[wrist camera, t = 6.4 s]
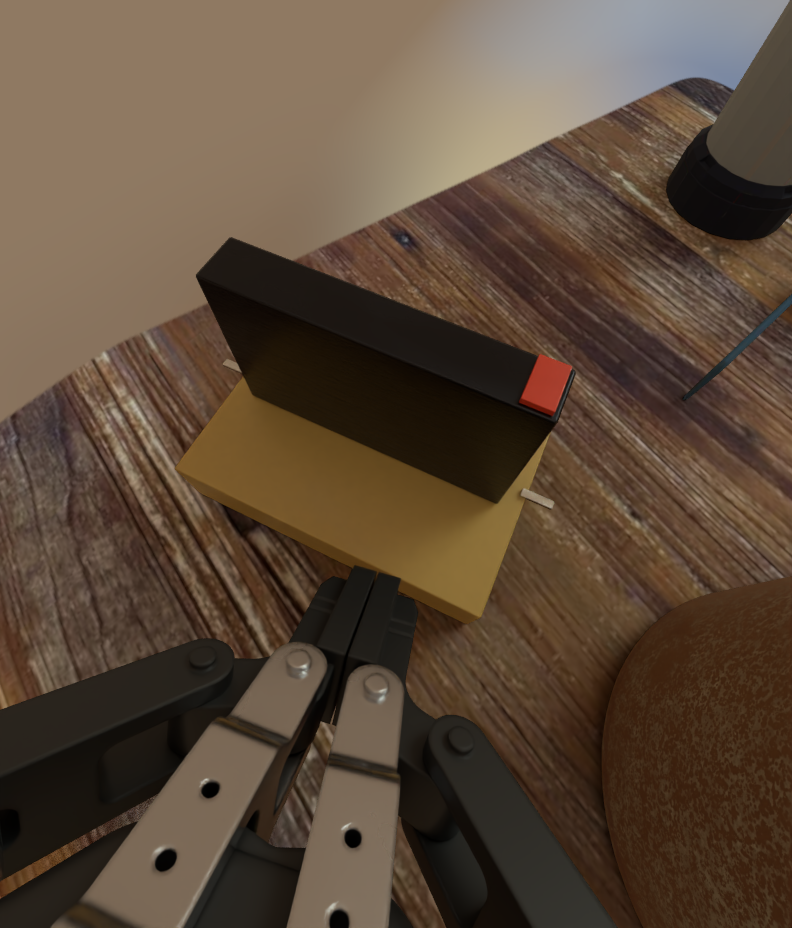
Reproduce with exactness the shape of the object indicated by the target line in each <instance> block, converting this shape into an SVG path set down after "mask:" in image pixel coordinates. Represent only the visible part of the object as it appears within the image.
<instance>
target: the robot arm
mask: <svg viewBox="0 0 792 928" xmlns="http://www.w3.org/2000/svg"><path fill="white" fill-rule="evenodd" d="M376 575H377V571H374V570H371V569H367V568H364V567H360V566H357V565H354V567H353V569H352V571H351V573H350V575H349V577H348V579H347V580H345V579H342V578H338V577H335V576H333V577H331V578H330V579H328V580H327V581H325V582H324V583H322V584H321V585H320V587H319V589H318V591H317V593H316V594H315V597H314V598H313V600H312V602H311V603H310V606H309V607H308V609H307V611H306V612H305V614H304V616H303V618H302V620H301V621H300V623H299V625H298V627H297V629H296V630H295V632H294V634H293V636H292V638H291V639H290V641H289V643H287V644H285V645H282V646H281V647H279V648H278V649H276V650H275V651H274V652H273V654H272V655H271V656H269V657H266V658H260V659H238V658H235V657H234V652H233V650H232V649H231V647H230V646H229V645H227V644H226V643H224V642H223V641H220V640H217V639H209V638H206V639H198V640H194V641H191V642H188V643H185V644H182V645H180V646H177V647H174V648H171V649H168V650H166V651H163V652H160V653H157V654H154V655H152V656H149V657H146V658H143V659H141V660H138V661H135V662H132V663H129V664H127V665H124V666H121V667H118V668H116V669H113V670H110V671H107V672H104V673H102V674H99V675H96V676H93V677H90V678H88V679H85V680H82V681H79V682H77V683H74V684H71V685H68V686H65V687H63V688H60V689H57V690H54V691H51V692H49V693H46V694H43V695H40V696H38V697H35V698H32V699H29V700H26V701H24V702H21V703H18V704H15V705H12V706H10V707H7V708H4V709H1V710H0V881H1V880H3V879H5V878H7V877H9V876H10V875H12V874H14V873H16V872H18V871H19V870H21V869H23V868H25V867H27V866H28V865H30V864H32V863H34V862H36V861H37V860H39V859H41V858H43V857H45V856H46V855H48V854H50V853H52V852H54V851H55V850H57V849H59V848H61V847H63V846H65V845H66V844H68V843H70V842H72V841H74V840H75V839H77V838H79V837H81V836H83V835H84V834H86V833H88V832H90V831H92V830H93V829H95V828H97V827H99V826H101V825H102V824H104V823H106V822H108V821H110V820H111V819H113V818H115V817H117V816H119V815H120V814H122V813H124V812H126V811H128V810H129V809H131V808H133V807H135V806H137V805H138V804H140V803H142V802H144V801H146V800H147V799H149V798H151V797H153V796H155V795H156V794H158V793H159V794H158V795H157V797H156V798H155V800H154V801H153V802H152V804H151V805H150V806H149V808H148V809H147V810H146V812H145V813H144V814H143V816H142V817H141V819H140V820H139V821H137V822H134V823H132V824H129V825H126V826H124V827H121V828H119V829H117V830H115V831H113V832H111V833H109V834H107V835H106V836H104V837H102V838H100V839H99V840H97V841H95V842H94V843H92V844H90V845H89V846H87V847H85V848H84V849H82V850H80V851H79V852H77V853H75V854H74V855H72V856H71V857H69V858H67V859H66V860H64V861H62V862H61V863H59V864H57V865H56V866H54V867H52V868H51V869H49V870H47V871H46V872H44V873H42V874H41V875H39V876H37V877H36V878H34V879H32V880H31V881H29V882H28V883H26V884H24V885H23V886H21V887H19V888H18V889H16V890H14V891H13V892H11V893H9V894H8V895H6V896H4V897H3V898H1V899H0V928H413V927H412V925H411V923H410V922H409V920H408V919H407V917H406V916H405V914H404V913H403V911H402V910H401V909H400V908H399V906H398V905H397V904H396V903H395V902H394V901H393V900H392V899H391V891H392V880H393V868H394V856H395V844H396V832H397V821H398V815H399V816H400V817H401V822H402V828H403V831H404V833H405V836H406V838H407V840H408V843H409V845H410V847H411V849H412V852H413V854H414V856H415V858H416V860H417V863H418V865H419V867H420V869H421V872H422V874H423V876H424V878H425V881H426V883H427V885H428V887H429V890H430V892H431V894H432V896H433V898H434V901H435V903H436V905H437V907H438V910H439V912H440V914H441V916H442V919H443V921H444V923H445V925H446V928H618V927H617V926H616V925H615V923H614V922H613V920H612V919H611V917H610V916H609V914H608V913H607V911H606V910H605V909H604V907H603V906H602V904H601V903H600V901H599V900H598V898H597V897H596V896H595V894H594V893H593V891H592V890H591V888H590V887H589V885H588V884H587V882H586V881H585V880H584V878H583V877H582V875H581V874H580V872H579V871H578V869H577V868H576V867H575V865H574V864H573V862H572V861H571V859H570V858H569V856H568V855H567V853H566V852H565V851H564V849H563V848H562V846H561V845H560V843H559V842H558V840H557V839H556V838H555V836H554V835H553V833H552V832H551V830H550V829H549V827H548V826H547V825H546V823H545V822H544V820H543V819H542V817H541V816H540V814H539V813H538V811H537V810H536V809H535V807H534V806H533V804H532V803H531V801H530V800H529V798H528V797H527V796H526V794H525V793H524V791H523V790H522V788H521V787H520V785H519V784H518V782H517V781H516V780H515V778H514V777H513V775H512V774H511V772H510V771H509V769H508V768H507V767H506V765H505V764H504V762H503V761H502V759H501V758H500V756H499V755H498V753H497V752H496V751H495V749H494V748H493V746H492V745H491V743H490V742H489V740H488V739H487V738H486V736H485V735H484V733H483V732H482V731H481V729H480V728H479V727H478V726H477V725H475V724H474V723H473V722H471V721H470V720H468V719H466V718H464V717H461V716H457V715H445V716H442V717H440V718H438V719H437V720H436V719H434V718H433V717H431V716H430V715H428V714H426V713H425V712H424V711H422V710H421V709H420V708H419V707H417V706H416V705H415V703H414V702H413V701H412V700H411V698H410V696H409V694H408V692H407V689H406V683H405V680H406V674H407V668H408V663H409V658H410V653H411V648H412V642H413V637H414V632H415V626H416V621H417V616H418V611H417V608H416V605H415V602H414V599H411V598H407V597H404V596H400V595H397V593H398V589H399V585H400V581H401V578H399V577H395V576H392V575H388V574H385V573H382V572H379V573H378V575H377V578H376ZM375 579H376V580H375ZM336 704H337V705H336ZM335 707H336V710H335ZM334 710H335V714H334V719H333V723H332V725H335V726H336V730H335V734H334V738H333V742H332V746H331V750H330V754H329V758H328V761H327V765H326V770H325V774H324V778H323V782H322V786H321V790H320V794H319V798H318V802H317V806H316V810H315V814H314V818H313V822H312V827H311V831H310V835H309V839H308V843H307V847H306V848H280V847H274V846H272V845H270V844H269V843H268V842H269V839H270V836H271V834H272V831H273V829H274V826H275V824H276V822H277V819H278V817H279V815H280V813H281V811H282V809H283V806H284V804H285V802H286V800H287V798H288V796H289V794H290V791H291V789H292V787H293V785H294V783H295V781H296V778H297V776H298V774H299V772H300V770H301V768H302V766H303V763H304V761H305V759H306V757H307V755H308V753H309V750H310V747H311V743H312V741H313V740H314V737H315V735H316V732H317V730H318V727H319V724H320V722H321V721H322V722H325V723H328V724H330V721H331V718H332V716H333V713H334Z"/></svg>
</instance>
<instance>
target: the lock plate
mask: <svg viewBox="0 0 792 928" xmlns="http://www.w3.org/2000/svg"><path fill="white" fill-rule="evenodd" d="M223 366H225V367H227V368H229V369H231V370H234V371H236V372H238V373H240V374H242V372H241V370H240V368H239V366H238V364H237V363H235V362H233V361H231V360H229V359H226V361H225V362H224V363H223ZM550 433H551V432H550ZM550 433H549V435H550ZM549 435H548V436H547V438H546V439H545V440H544V442H543V443H542V444H541V446H540V447H539V448H538V450H537V451H536V453H535V454H534V455H533V457H532V458H531V459H530V461H529V462H528V463H527V465H526V466H525V468H524V469H523V470H522V472H521V473H520V474H519V476H518V477H517V478H516V480H515V481H514V482H513V484H512V485H511V487H510V488H509V489H508V491H507V492H506V493H505V495H504V496H503V497H502V499H501V500H500V502H499V503H498V504H495V503H493V502H491V501H488V500H486V499H484V498H482V497H479V496H477V495H475V494H473V493H470V492H468V491H466V490H464V489H462V488H459V487H457V486H455V485H453V484H450V483H448V482H446V481H444V480H441V479H439V478H437V477H435V476H432V475H430V474H428V473H426V472H423V471H421V470H419V469H417V468H414V467H412V466H410V465H408V464H405V463H403V462H401V461H399V460H396V459H394V458H392V457H390V456H387V455H385V454H383V453H381V452H379V451H376V450H374V449H372V448H370V447H367V446H365V445H363V444H361V443H358V442H356V441H354V440H352V439H349V438H347V437H345V436H343V435H340V434H338V433H336V432H334V431H331V430H329V429H327V428H325V427H322V426H320V425H318V424H316V423H313V422H311V421H309V420H307V419H305V418H302V417H300V416H298V415H296V414H293V413H291V412H289V411H287V410H284V409H282V408H280V407H278V406H275V405H273V404H271V403H269V402H266V401H264V400H262V399H260V398H257V397H255V396H253V395H252V393H251V391H250V389H249V387H248V385H247V383H246V381H245V379H244V377H242V379H241V380H240V381H239V383H238V384H237V385H236V387H235V388H234V389H233V391H232V392H231V393H230V395H229V396H228V397H227V399H226V400H225V401H224V403H223V404H222V405H221V407H220V408H219V409H218V411H217V412H216V413H215V415H214V416H213V417H212V419H211V420H210V421H209V423H208V424H207V425H206V427H205V428H204V429H203V431H202V432H201V433H200V435H199V436H198V437H197V439H196V440H195V441H194V443H193V444H192V445H191V447H190V448H189V449H188V451H187V452H186V453H185V455H184V456H183V458H182V459H181V460H180V462H179V463H178V464H177V466H176V467H175V470H176V471H177V472H178V473H179V474H180V475H182V476H183V477H184V478H185V479H186V480H187V481H188V482H189V483H190V484H191V485H192V486H193V487H194V488H195V489H196V490H197V491H198V492H199V493H201V494H203V495H205V496H207V497H209V498H211V499H213V500H215V501H217V502H219V503H221V504H223V505H225V506H227V507H229V508H231V509H233V510H235V511H237V512H239V513H241V514H243V515H245V516H248V517H250V518H252V519H254V520H256V521H258V522H260V523H262V524H264V525H266V526H268V527H270V528H272V529H274V530H276V531H278V532H280V533H282V534H284V535H286V536H288V537H290V538H292V539H294V540H296V541H298V542H300V543H302V544H304V545H306V546H308V547H310V548H312V549H314V550H316V551H318V552H320V553H322V554H325V555H327V556H329V557H331V558H333V559H335V560H337V561H339V562H341V563H343V564H345V565H347V566H349V567H351V568H353V567H354V565H357V566H360V567H364V568H367V569H371V570H374V571H377V575H378V573H379V572H382V573H385V574H388V575H392V576H395V577H399V578H401V581H400V585H399V589H398V591H399V592H402V593H404V594H406V595H408V596H410V597H412V598H414V599H416V600H418V601H420V602H422V603H424V604H426V605H428V606H430V607H432V608H434V609H436V610H438V611H440V612H442V613H444V614H446V615H448V616H450V617H452V618H454V619H456V620H458V621H460V622H462V623H464V624H468V623H471V622H473V621H475V620H477V619H479V618H481V616H482V613H483V611H484V608H485V605H486V603H487V600H488V597H489V595H490V592H491V589H492V587H493V584H494V582H495V579H496V576H497V574H498V571H499V568H500V566H501V563H502V560H503V558H504V555H505V552H506V550H507V547H508V544H509V542H510V539H511V536H512V534H513V531H514V528H515V526H516V523H517V520H518V518H519V515H520V512H521V510H522V507H523V504H524V502H525V499H527V500H529V501H532V502H534V503H536V504H539V505H541V506H543V507H545V508H548V509H550V510H551V509H552V507H553V504H554V501H552V500H550V499H547V498H545V497H543V496H540V495H538V494H536V493H534V492H531V491H529V489H530V486H531V483H532V481H533V478H534V475H535V473H536V470H537V467H538V465H539V462H540V459H541V457H542V454H543V451H544V449H545V446H546V443H547V441H548V438H549ZM377 575H376V578H377ZM375 580H376V579H375Z"/></svg>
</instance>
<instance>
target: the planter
mask: <svg viewBox="0 0 792 928" xmlns="http://www.w3.org/2000/svg"><path fill="white" fill-rule="evenodd" d="M602 788H603V797H604V806H605V812H606V819H607V824H608V829H609V833H610V838H611V842H612V846H613V850H614V854H615V857H616V860H617V864H618V867H619V870H620V873H621V876H622V879H623V882H624V884H625V887H626V890H627V893H628V895H629V897H630V900H631V902H632V905H633V907H634V909H635V912H636V914H637V916H638V918H639V920H640V922H641V924H642V926H643V928H792V576H790V577H786V578H781V579H776V580H771V581H767V582H762V583H757V584H753V585H748V586H743V587H738V588H734V589H729V590H724V591H720V592H715V593H710V594H707V595H704V596H700V597H698V598H695V599H693V600H690V601H688V602H686V603H684V604H682V605H680V606H678V607H677V608H675V609H673V610H672V611H670V612H669V613H667V614H666V615H664V616H663V617H662V618H661V619H659V620H658V621H657V622H656V623H655V624H654V625H652V626H651V627H650V628H649V629H648V631H647V632H646V633H645V634H644V635H643V636H642V637H641V638H640V640H639V641H638V642H637V643H636V645H635V646H634V648H633V649H632V650H631V652H630V654H629V655H628V657H627V659H626V660H625V662H624V664H623V666H622V668H621V670H620V672H619V674H618V677H617V679H616V682H615V684H614V687H613V690H612V693H611V696H610V700H609V704H608V708H607V712H606V718H605V723H604V731H603V739H602Z"/></svg>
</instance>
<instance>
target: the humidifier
mask: <svg viewBox="0 0 792 928" xmlns="http://www.w3.org/2000/svg"><path fill="white" fill-rule="evenodd" d="M666 191H667V194H668V198H669V201H670V203H671V204H672V205H673V207H674V208H675V209H676V211H677V212H678V213H679V214H680V215H681V216H682V217H683V218H685V219H686V220H687V221H688V222H690V223H691V224H692V225H694V226H696V227H698V228H700V229H702V230H704V231H706V232H708V233H710V234H714V235H718V236H721V237H725V238H728V239H741V240H751V239H756V238H762V237H765V236H767V235H769V234H771V233H772V232H774V231H776V230H777V229H778V228H779V227H780V226H781V225H782V224H783V222H784V221H785V220H786V219H787V218H788V217H789V216H790V215H791V214H792V0H790V2H789V3H788V5H787V6H786V8H785V9H784V11H783V13H782V14H781V16H780V18H779V19H778V21H777V23H776V24H775V26H774V27H773V29H772V31H771V32H770V34H769V35H768V37H767V39H766V40H765V42H764V43H763V45H762V47H761V48H760V50H759V52H758V53H757V55H756V57H755V58H754V60H753V61H752V63H751V65H750V66H749V68H748V69H747V71H746V73H745V74H744V76H743V78H742V79H741V81H740V83H739V84H738V86H737V87H736V89H735V90H734V92H733V94H732V95H731V97H730V99H729V100H728V102H727V103H726V105H725V107H724V108H723V110H722V112H721V113H720V115H719V116H718V118H717V120H716V121H715V123H714V124H713V125H711V126H708V127H706V128H704V129H702V130H701V131H700V133H699V134H698V135H697V136H696V137H695V138H694V140H693V142H692V143H691V144H690V145H689V146H688V147H687V148H686V150H685V152H684V153H683V155H682V157H681V158H680V160H679V162H678V164H677V165H676V167H675V169H674V170H673V172H672V174H671V175H670V177H669V179H668V183H667V188H666Z"/></svg>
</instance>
